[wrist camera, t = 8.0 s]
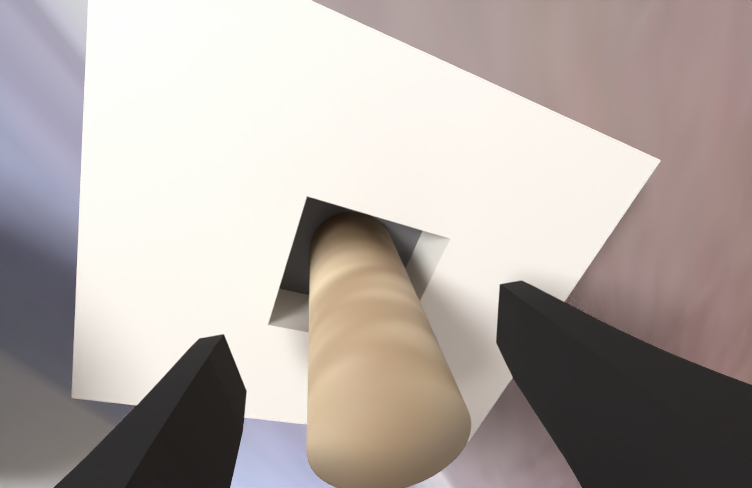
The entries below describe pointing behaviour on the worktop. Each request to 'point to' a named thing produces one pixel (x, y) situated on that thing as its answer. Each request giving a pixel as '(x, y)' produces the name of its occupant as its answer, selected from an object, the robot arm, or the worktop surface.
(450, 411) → the peg
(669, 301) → the worktop surface
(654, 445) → the robot arm
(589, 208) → the socket plate
